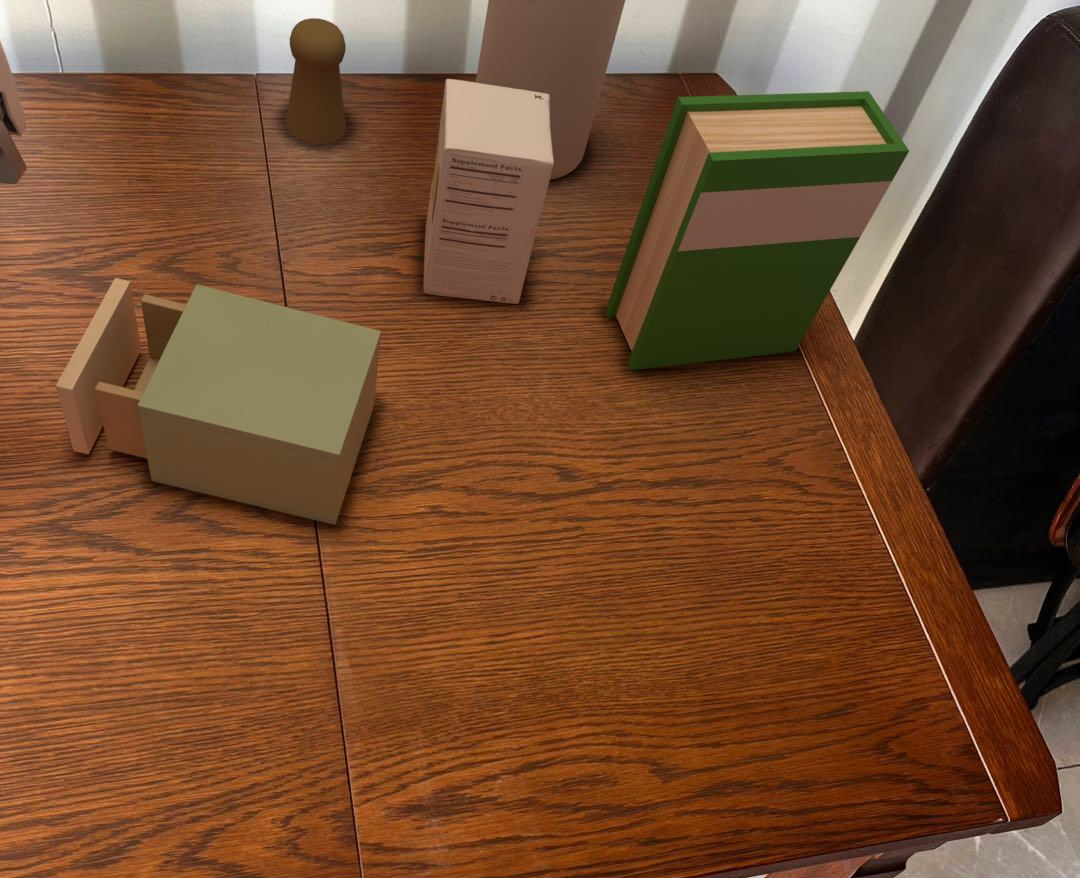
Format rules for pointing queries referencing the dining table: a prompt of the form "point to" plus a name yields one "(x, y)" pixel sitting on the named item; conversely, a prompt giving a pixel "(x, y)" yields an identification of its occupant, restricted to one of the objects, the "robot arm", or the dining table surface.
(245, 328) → the cabinet
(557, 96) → the cylinder vase
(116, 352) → the drawer
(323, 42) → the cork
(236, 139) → the dining table surface
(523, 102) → the supplement box
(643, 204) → the hardback book
